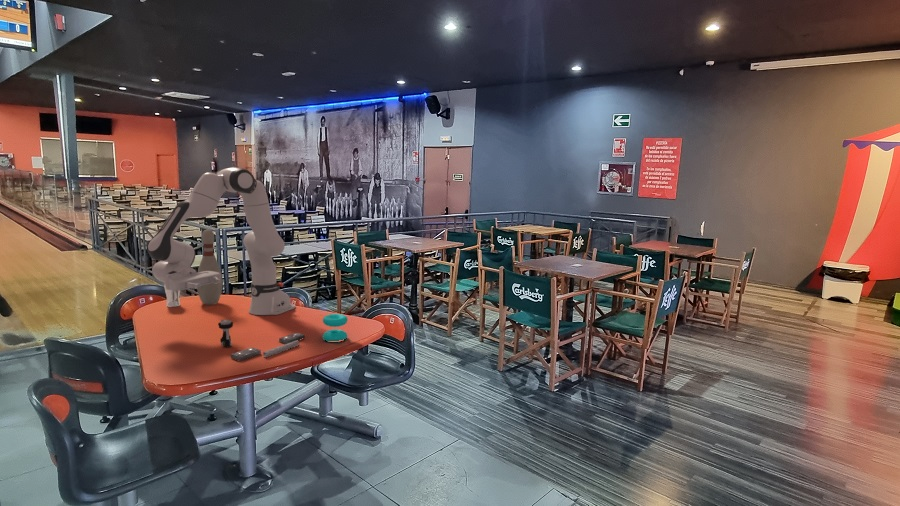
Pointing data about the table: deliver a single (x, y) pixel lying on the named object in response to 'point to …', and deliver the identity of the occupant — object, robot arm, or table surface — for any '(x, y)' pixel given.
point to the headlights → (289, 343)
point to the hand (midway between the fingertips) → (209, 284)
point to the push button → (225, 332)
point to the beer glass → (172, 298)
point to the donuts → (335, 321)
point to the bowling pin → (209, 263)
